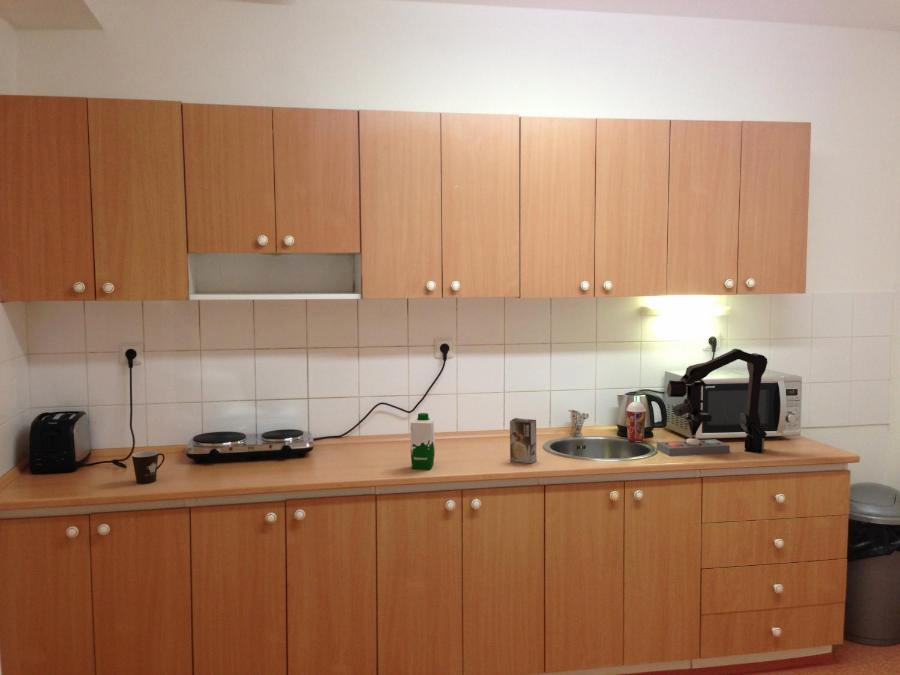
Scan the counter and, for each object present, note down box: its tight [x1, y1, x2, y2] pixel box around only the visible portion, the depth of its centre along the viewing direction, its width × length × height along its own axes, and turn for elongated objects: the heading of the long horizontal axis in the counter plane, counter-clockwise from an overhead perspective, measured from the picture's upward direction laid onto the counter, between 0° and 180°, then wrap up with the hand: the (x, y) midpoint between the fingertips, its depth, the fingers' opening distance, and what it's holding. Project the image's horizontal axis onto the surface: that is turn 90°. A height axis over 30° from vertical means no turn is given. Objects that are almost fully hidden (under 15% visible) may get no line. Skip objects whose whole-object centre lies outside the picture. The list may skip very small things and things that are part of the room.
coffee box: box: [509, 417, 538, 464], centre depth 274 cm, size 9×6×16 cm
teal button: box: [705, 441, 718, 445], centre depth 289 cm, size 5×5×2 cm
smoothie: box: [625, 394, 647, 442], centre depth 305 cm, size 8×8×20 cm
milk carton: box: [409, 412, 436, 471], centre depth 266 cm, size 9×9×20 cm
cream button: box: [685, 438, 700, 446], centre depth 287 cm, size 5×5×2 cm
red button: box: [668, 441, 681, 447], centre depth 286 cm, size 5×5×2 cm
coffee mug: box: [131, 450, 166, 485], centre depth 251 cm, size 12×9×10 cm
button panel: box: [656, 438, 731, 457], centre depth 288 cm, size 11×26×3 cm, turn 99°
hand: (693, 434), depth 287 cm, fingers closed
